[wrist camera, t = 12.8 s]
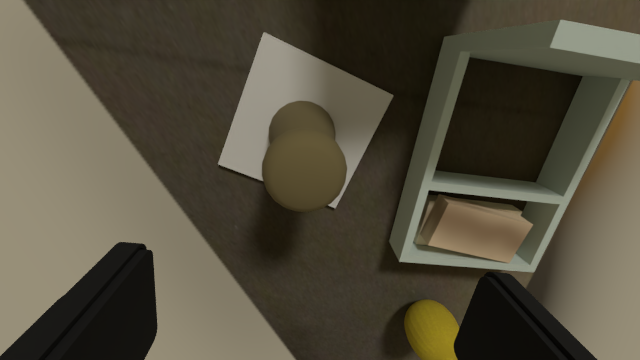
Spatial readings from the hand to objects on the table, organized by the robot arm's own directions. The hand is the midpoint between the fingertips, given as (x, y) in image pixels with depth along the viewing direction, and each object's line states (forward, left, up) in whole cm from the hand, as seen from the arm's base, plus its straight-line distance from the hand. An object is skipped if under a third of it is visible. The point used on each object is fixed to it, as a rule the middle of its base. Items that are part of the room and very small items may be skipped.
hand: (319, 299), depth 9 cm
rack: (+4, -17, -20) cm, 27 cm away
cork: (0, 0, -20) cm, 20 cm away
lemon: (-14, -21, -21) cm, 32 cm away
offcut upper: (-2, -19, -19) cm, 27 cm away
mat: (0, 0, -20) cm, 20 cm away
